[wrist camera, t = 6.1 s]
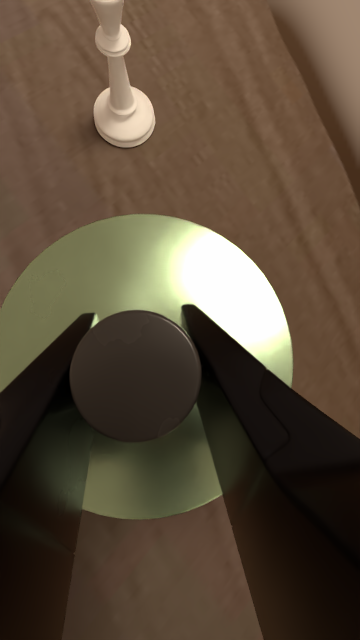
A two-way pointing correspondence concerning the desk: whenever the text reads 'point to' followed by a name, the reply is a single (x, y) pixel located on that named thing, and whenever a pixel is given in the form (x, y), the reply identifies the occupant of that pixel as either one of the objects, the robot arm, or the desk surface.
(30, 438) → the robot arm
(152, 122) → the chess piece
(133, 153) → the desk surface
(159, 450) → the lid
